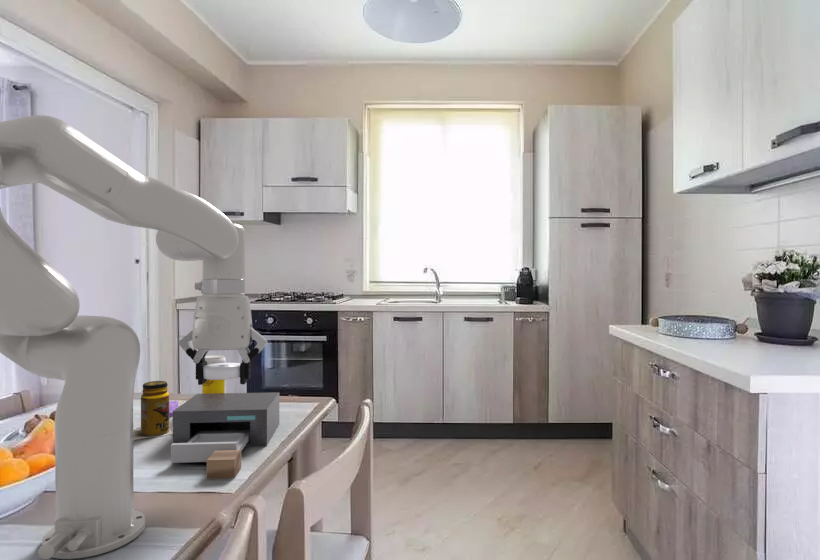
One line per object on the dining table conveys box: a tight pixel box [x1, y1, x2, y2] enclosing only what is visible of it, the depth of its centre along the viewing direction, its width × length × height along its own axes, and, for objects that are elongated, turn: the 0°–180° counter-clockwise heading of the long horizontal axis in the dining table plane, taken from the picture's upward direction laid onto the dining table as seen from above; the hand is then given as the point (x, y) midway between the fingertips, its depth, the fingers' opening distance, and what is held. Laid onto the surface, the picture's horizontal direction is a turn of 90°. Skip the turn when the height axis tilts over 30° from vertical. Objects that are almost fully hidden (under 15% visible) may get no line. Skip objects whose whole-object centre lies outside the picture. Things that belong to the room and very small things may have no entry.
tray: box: [170, 430, 250, 464], centre depth 107 cm, size 16×12×4 cm
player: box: [172, 392, 280, 447], centre depth 118 cm, size 16×20×8 cm
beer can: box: [201, 354, 227, 394], centre depth 139 cm, size 6×6×15 cm
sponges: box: [169, 400, 179, 418], centre depth 138 cm, size 7×13×2 cm, turn 19°
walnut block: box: [206, 450, 242, 480], centre depth 96 cm, size 5×5×4 cm
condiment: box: [133, 380, 173, 441], centre depth 119 cm, size 7×8×12 cm
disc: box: [203, 362, 242, 380], centre depth 95 cm, size 7×7×2 cm
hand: (223, 382), depth 95 cm, fingers closed on disc, 7 cm apart
